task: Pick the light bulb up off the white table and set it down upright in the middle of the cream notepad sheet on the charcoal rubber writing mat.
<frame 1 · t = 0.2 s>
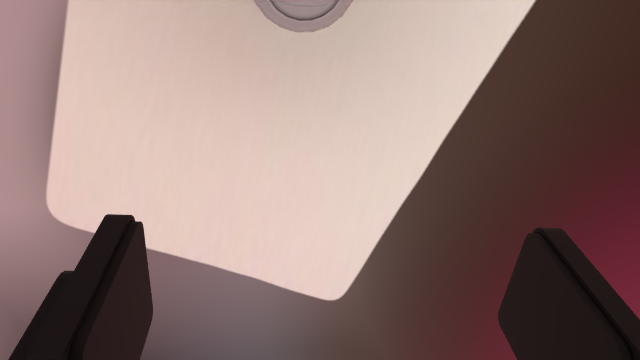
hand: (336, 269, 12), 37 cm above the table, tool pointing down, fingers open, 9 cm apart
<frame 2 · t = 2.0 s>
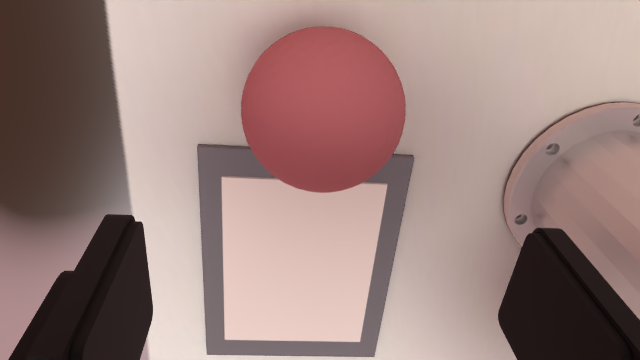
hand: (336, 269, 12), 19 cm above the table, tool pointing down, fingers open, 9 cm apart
light bulb: (314, 57, 29), on the table
notepad mat: (298, 263, 36), on the table
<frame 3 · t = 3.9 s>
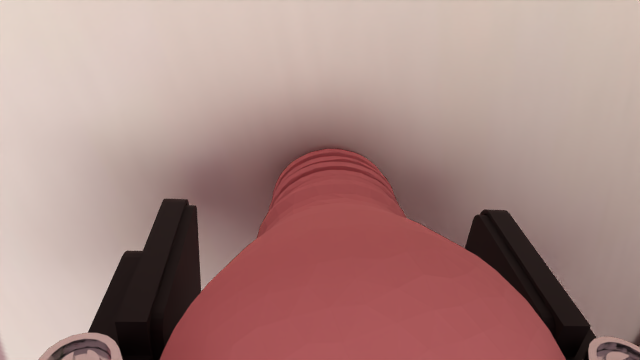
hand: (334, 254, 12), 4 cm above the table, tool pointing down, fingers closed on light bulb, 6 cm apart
light bulb: (324, 177, 16), on the table, touching gripper
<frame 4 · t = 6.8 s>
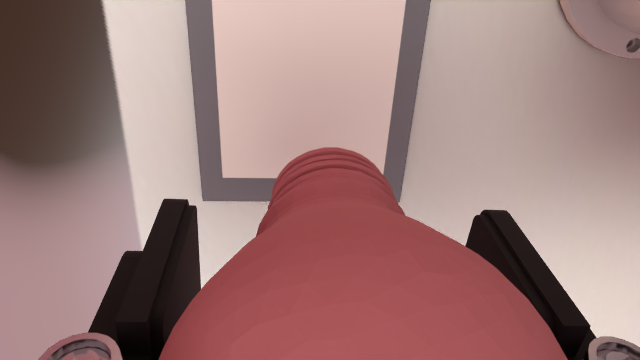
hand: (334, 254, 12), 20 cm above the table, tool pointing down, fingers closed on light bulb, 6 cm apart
light bulb: (323, 176, 16), point 16 cm above the table, touching gripper
notepad mat: (307, 68, 30), on the table
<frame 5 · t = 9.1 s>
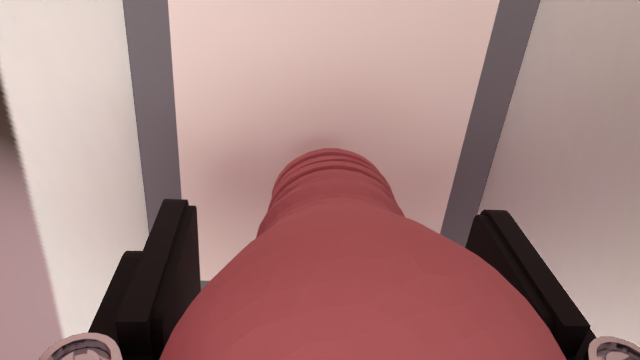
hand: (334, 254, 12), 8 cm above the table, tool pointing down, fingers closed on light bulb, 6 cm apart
light bulb: (323, 177, 16), point 4 cm above the table, touching gripper
notepad mat: (322, 128, 19), on the table
when the fingers open (6 cm above the table, at t = 10.1 s): light bulb drops 1 cm, resting on notepad mat.
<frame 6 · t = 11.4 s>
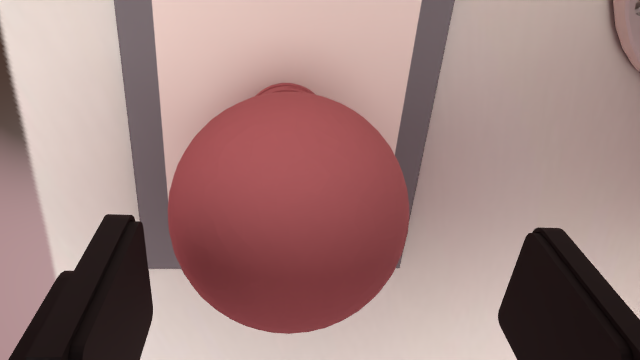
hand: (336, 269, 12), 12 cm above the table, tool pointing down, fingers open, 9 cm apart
light bulb: (282, 107, 22), resting on notepad mat
notepad mat: (284, 103, 23), on the table
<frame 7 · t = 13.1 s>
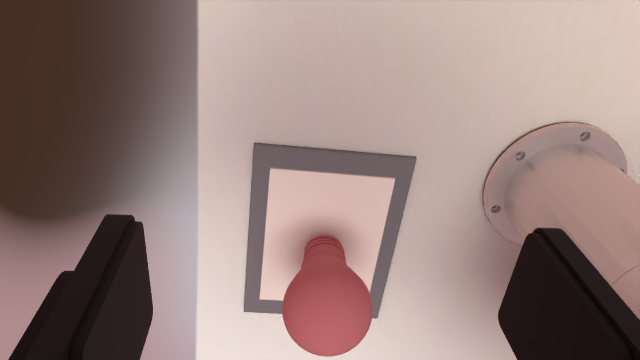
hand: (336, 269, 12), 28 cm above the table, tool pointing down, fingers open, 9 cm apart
light bulb: (321, 242, 46), resting on notepad mat
notepad mat: (322, 239, 46), on the table
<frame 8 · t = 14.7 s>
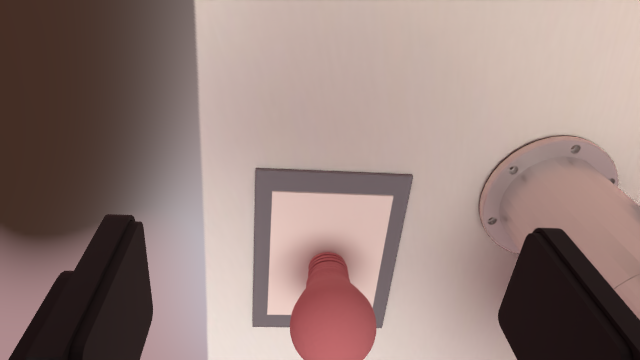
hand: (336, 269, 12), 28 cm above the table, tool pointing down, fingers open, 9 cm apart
light bulb: (325, 258, 47), resting on notepad mat
notepad mat: (325, 255, 48), on the table
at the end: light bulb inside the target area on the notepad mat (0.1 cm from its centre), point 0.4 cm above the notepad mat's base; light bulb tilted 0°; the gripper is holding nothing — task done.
